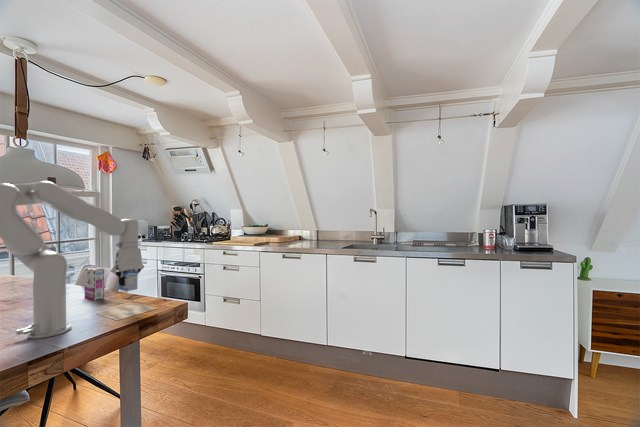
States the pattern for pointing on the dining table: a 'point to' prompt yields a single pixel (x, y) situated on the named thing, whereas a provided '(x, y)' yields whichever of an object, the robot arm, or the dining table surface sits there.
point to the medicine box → (129, 280)
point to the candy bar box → (94, 283)
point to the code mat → (126, 311)
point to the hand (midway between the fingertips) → (127, 284)
